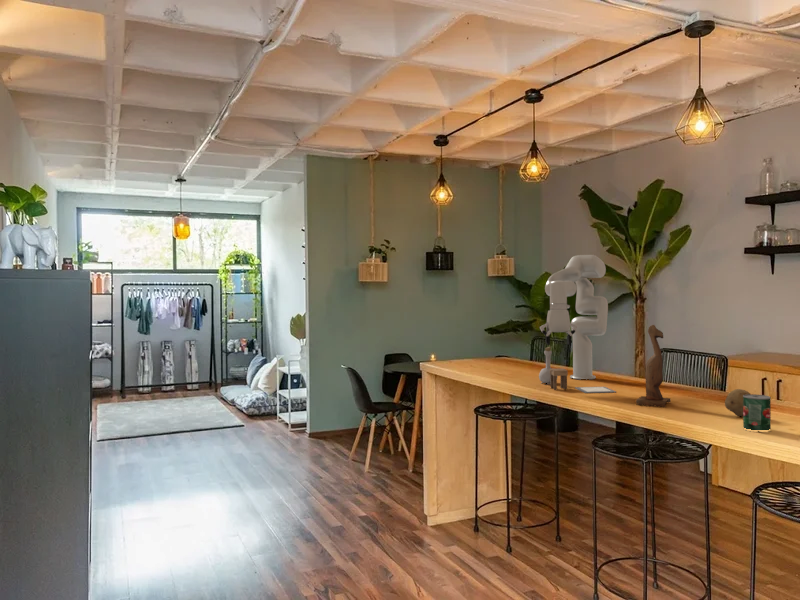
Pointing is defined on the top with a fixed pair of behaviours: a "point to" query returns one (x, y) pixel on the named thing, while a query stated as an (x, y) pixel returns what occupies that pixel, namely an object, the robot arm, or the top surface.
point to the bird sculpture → (654, 373)
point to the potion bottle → (545, 372)
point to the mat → (595, 389)
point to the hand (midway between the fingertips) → (558, 344)
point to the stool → (563, 377)
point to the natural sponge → (736, 401)
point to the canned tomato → (756, 412)
